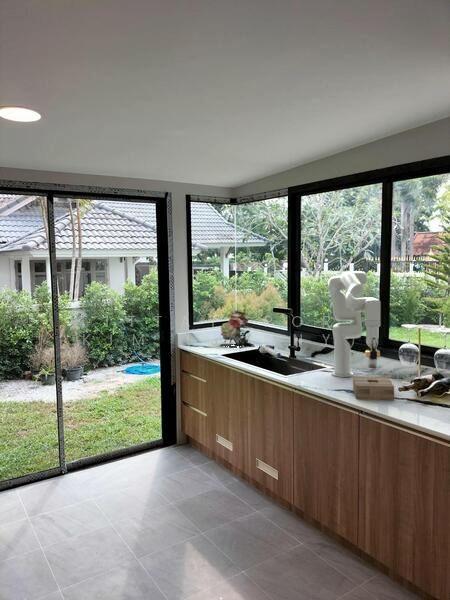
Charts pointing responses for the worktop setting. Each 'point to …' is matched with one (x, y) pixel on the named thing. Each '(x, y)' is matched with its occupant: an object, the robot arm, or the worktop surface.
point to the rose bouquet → (235, 329)
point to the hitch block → (373, 388)
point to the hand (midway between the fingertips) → (372, 357)
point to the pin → (372, 361)
